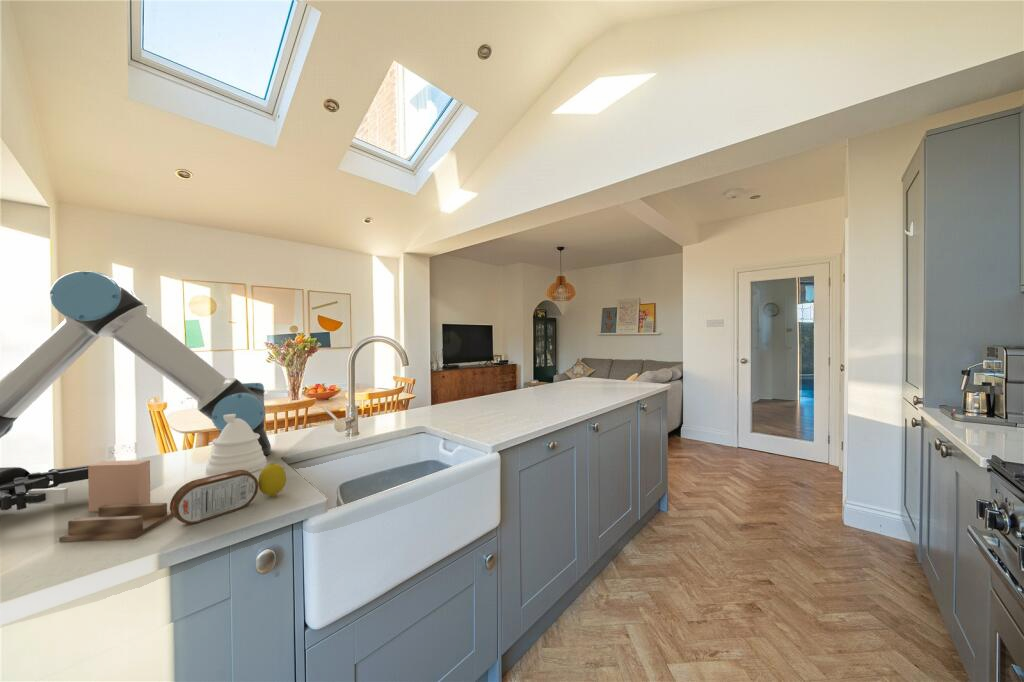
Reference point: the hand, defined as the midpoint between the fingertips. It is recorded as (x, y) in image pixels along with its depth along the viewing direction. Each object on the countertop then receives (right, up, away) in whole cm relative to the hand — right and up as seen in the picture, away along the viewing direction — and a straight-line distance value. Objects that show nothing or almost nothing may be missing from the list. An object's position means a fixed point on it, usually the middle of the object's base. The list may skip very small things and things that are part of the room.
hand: (99, 482), depth 84 cm
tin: (+28, -6, -3) cm, 29 cm away
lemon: (+34, -6, +6) cm, 35 cm away
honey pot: (+19, -6, +15) cm, 25 cm away
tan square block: (+4, -6, +1) cm, 7 cm away
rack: (+13, -6, -8) cm, 17 cm away
